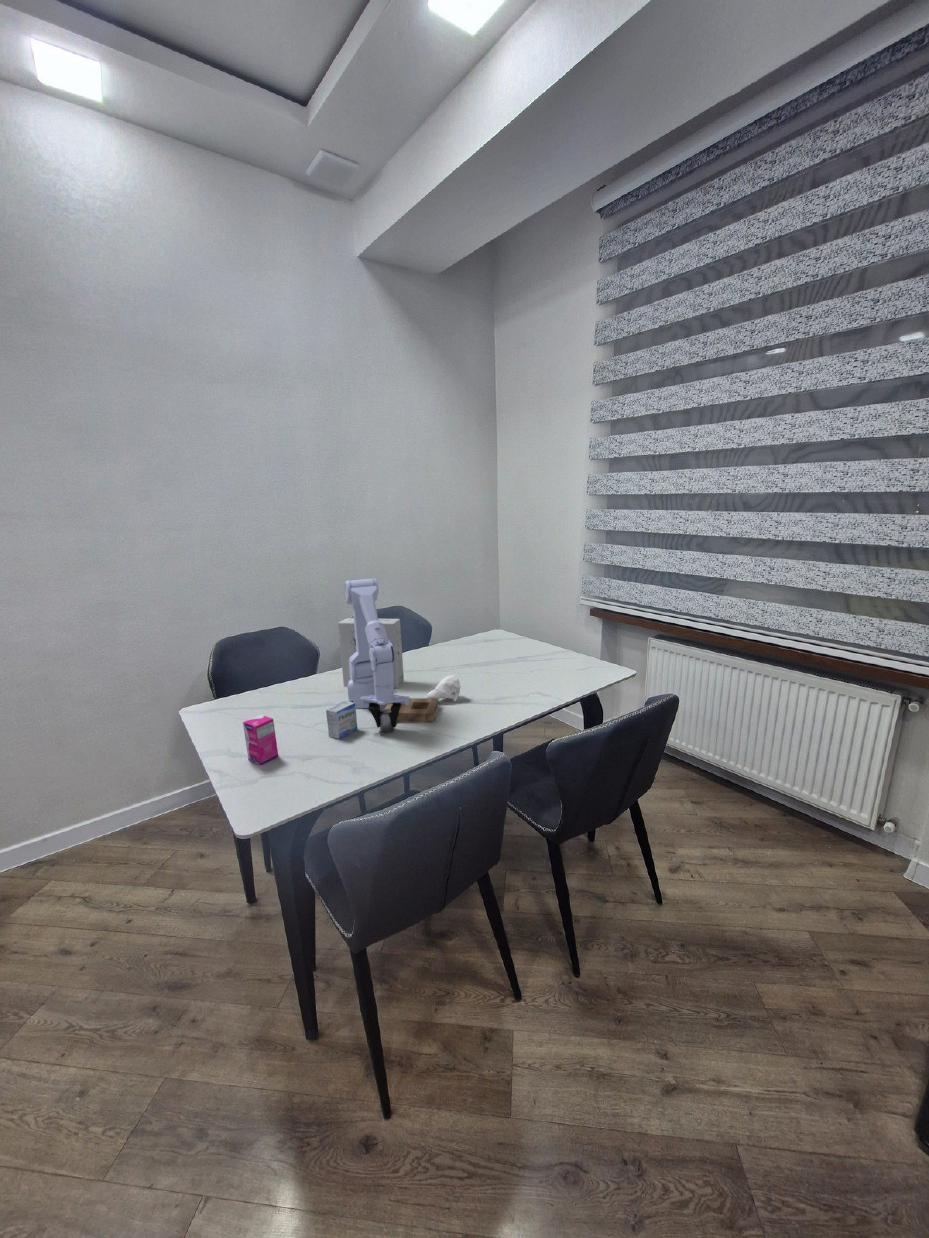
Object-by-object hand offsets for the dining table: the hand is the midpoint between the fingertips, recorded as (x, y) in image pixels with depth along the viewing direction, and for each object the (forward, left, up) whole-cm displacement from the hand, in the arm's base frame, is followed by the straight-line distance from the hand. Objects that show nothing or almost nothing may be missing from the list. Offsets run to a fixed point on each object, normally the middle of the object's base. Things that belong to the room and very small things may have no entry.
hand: (386, 726), depth 149 cm
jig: (+5, +12, -1) cm, 13 cm away
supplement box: (-30, -18, -2) cm, 35 cm away
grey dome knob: (0, 0, -1) cm, 1 cm away
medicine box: (-13, -2, -2) cm, 13 cm away
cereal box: (-15, +39, -2) cm, 42 cm away
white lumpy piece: (+14, +23, -2) cm, 27 cm away
